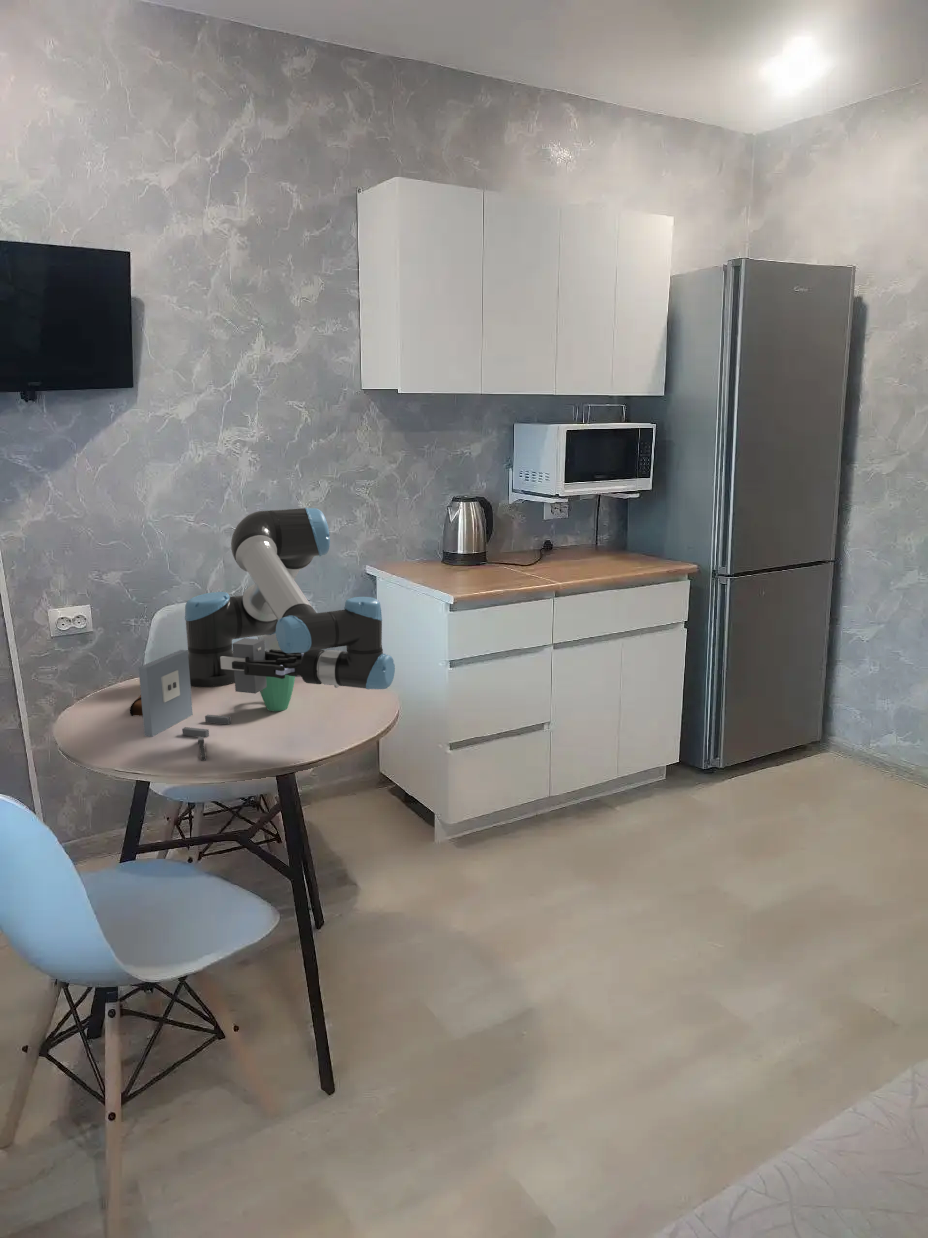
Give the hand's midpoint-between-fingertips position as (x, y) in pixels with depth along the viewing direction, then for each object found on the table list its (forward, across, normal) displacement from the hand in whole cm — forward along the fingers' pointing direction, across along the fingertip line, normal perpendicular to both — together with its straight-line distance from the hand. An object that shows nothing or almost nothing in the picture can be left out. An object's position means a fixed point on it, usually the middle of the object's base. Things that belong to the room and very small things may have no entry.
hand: (228, 659), depth 202 cm
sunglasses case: (+29, +13, -18) cm, 37 cm away
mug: (0, +20, -17) cm, 26 cm away
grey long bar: (0, -13, -17) cm, 21 cm away
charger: (-5, 0, -7) cm, 8 cm away
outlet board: (+11, 0, -17) cm, 20 cm away
